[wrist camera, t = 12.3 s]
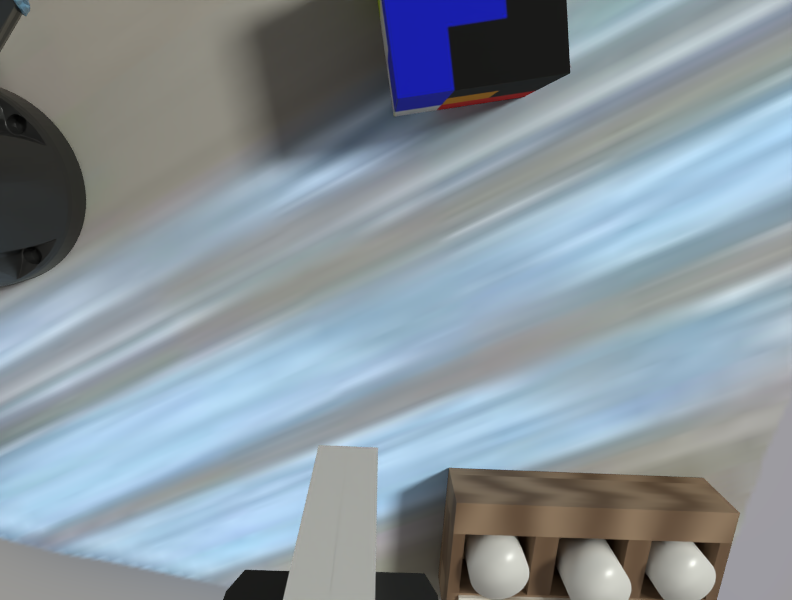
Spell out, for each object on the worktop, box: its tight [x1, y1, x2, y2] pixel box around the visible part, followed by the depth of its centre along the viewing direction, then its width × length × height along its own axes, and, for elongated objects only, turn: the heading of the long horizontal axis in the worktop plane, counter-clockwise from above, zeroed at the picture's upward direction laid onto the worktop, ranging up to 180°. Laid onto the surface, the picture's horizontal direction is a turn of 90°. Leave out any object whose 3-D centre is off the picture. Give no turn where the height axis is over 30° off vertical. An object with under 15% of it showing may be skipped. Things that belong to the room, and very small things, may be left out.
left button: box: [464, 534, 529, 599], centre depth 44 cm, size 5×5×4 cm
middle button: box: [555, 538, 631, 600], centre depth 43 cm, size 5×5×4 cm
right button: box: [645, 541, 716, 600], centre depth 45 cm, size 5×5×4 cm
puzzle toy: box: [378, 0, 570, 117], centre depth 32 cm, size 10×10×10 cm
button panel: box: [438, 468, 740, 600], centre depth 45 cm, size 24×12×6 cm, turn 87°
